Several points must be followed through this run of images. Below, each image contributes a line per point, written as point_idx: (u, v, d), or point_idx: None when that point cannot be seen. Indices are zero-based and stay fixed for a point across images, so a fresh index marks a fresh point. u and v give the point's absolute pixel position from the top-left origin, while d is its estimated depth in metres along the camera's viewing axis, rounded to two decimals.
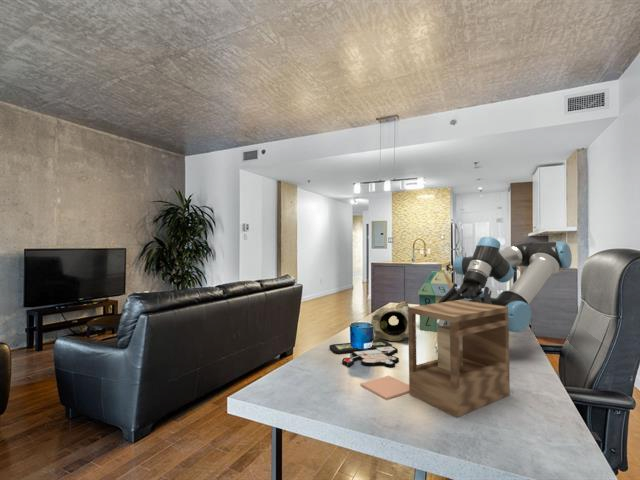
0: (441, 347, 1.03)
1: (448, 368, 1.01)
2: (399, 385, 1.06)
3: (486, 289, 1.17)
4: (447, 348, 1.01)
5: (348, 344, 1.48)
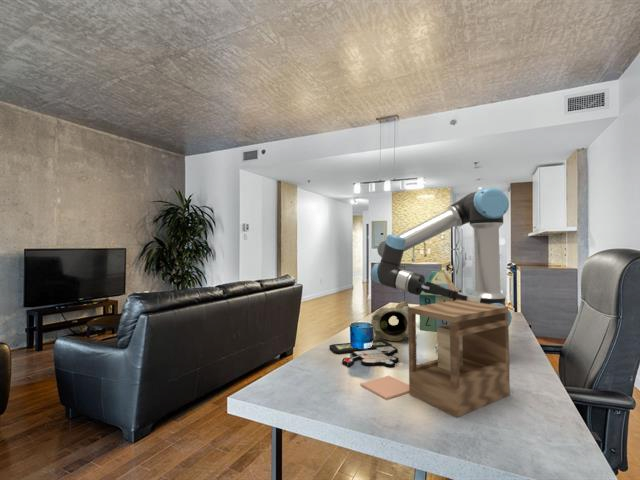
0: (441, 347, 1.03)
1: (448, 368, 1.01)
2: (399, 385, 1.06)
3: (425, 291, 1.17)
4: (447, 348, 1.01)
5: (348, 344, 1.48)
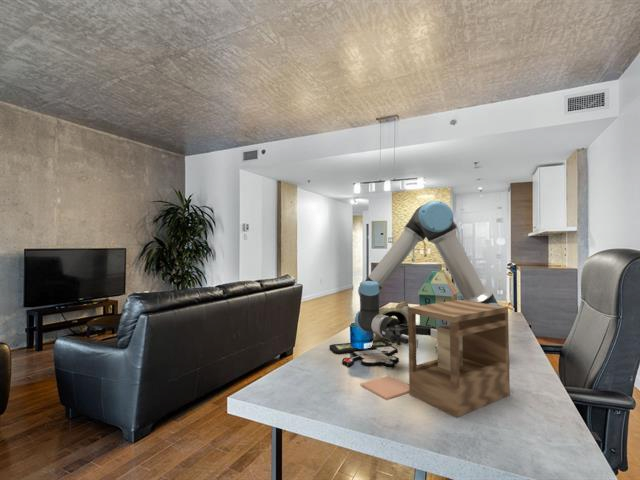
0: (441, 347, 1.03)
1: (448, 368, 1.01)
2: (399, 385, 1.06)
3: (384, 336, 1.18)
4: (447, 348, 1.01)
5: (348, 344, 1.48)
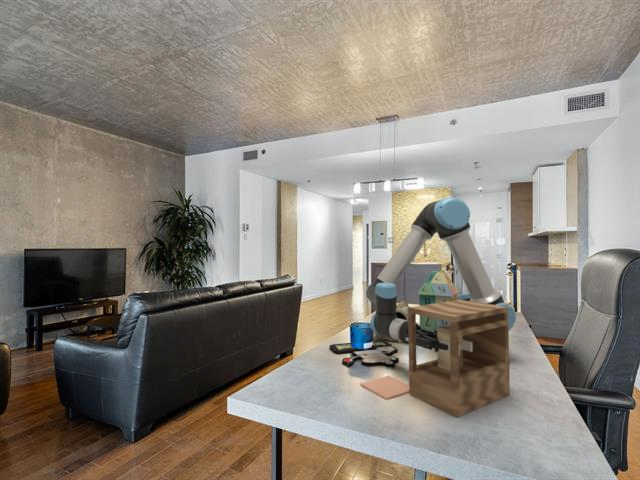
0: None
1: (448, 368, 1.01)
2: (399, 385, 1.06)
3: None
4: None
5: (348, 344, 1.48)
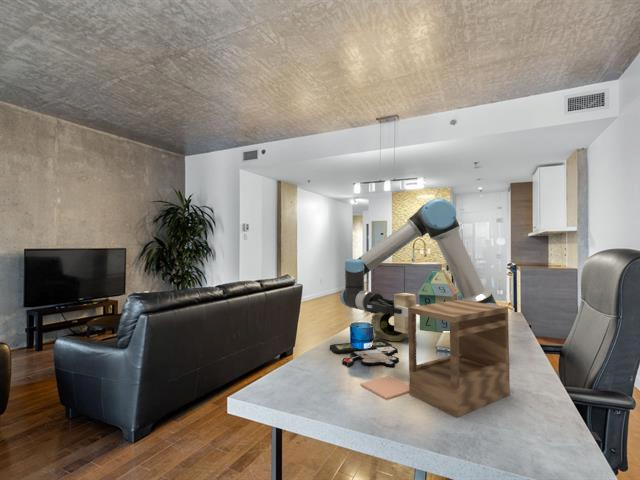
0: None
1: (402, 330, 1.11)
2: (399, 385, 1.06)
3: (370, 309, 1.20)
4: None
5: (348, 344, 1.48)
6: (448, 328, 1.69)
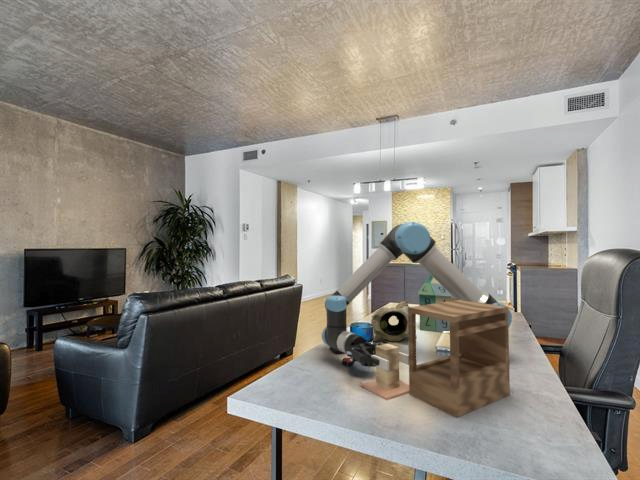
0: None
1: (384, 387, 1.04)
2: None
3: None
4: None
5: None
6: (448, 328, 1.69)
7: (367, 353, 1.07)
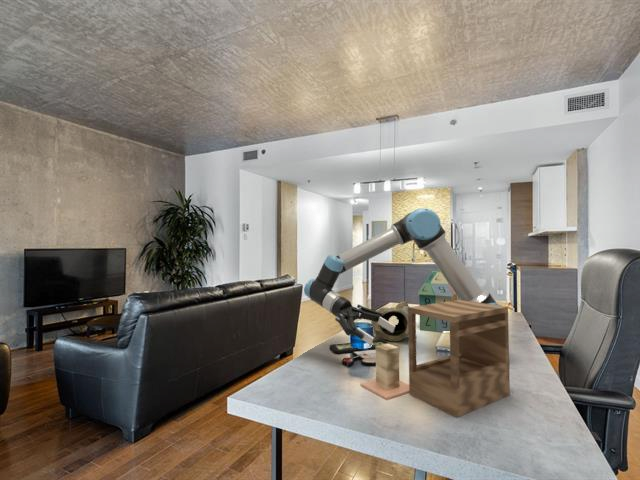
0: (379, 366, 1.06)
1: (384, 387, 1.04)
2: None
3: None
4: (383, 367, 1.04)
5: (348, 344, 1.48)
6: (448, 328, 1.69)
7: (353, 324, 1.17)
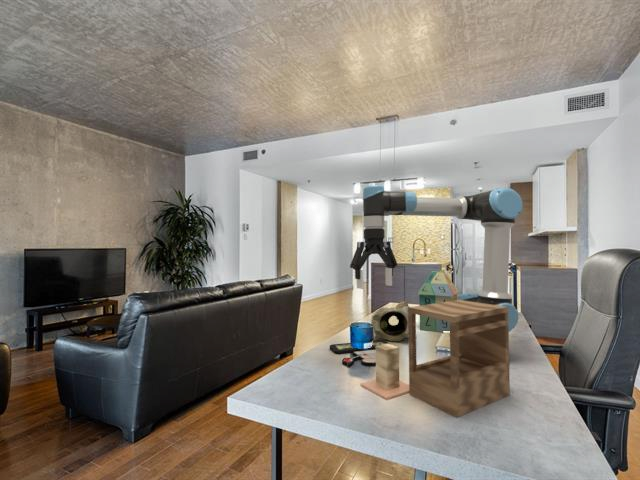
0: (379, 366, 1.06)
1: (384, 387, 1.04)
2: None
3: None
4: (383, 367, 1.04)
5: (348, 344, 1.48)
6: (448, 328, 1.69)
7: (362, 263, 1.20)
